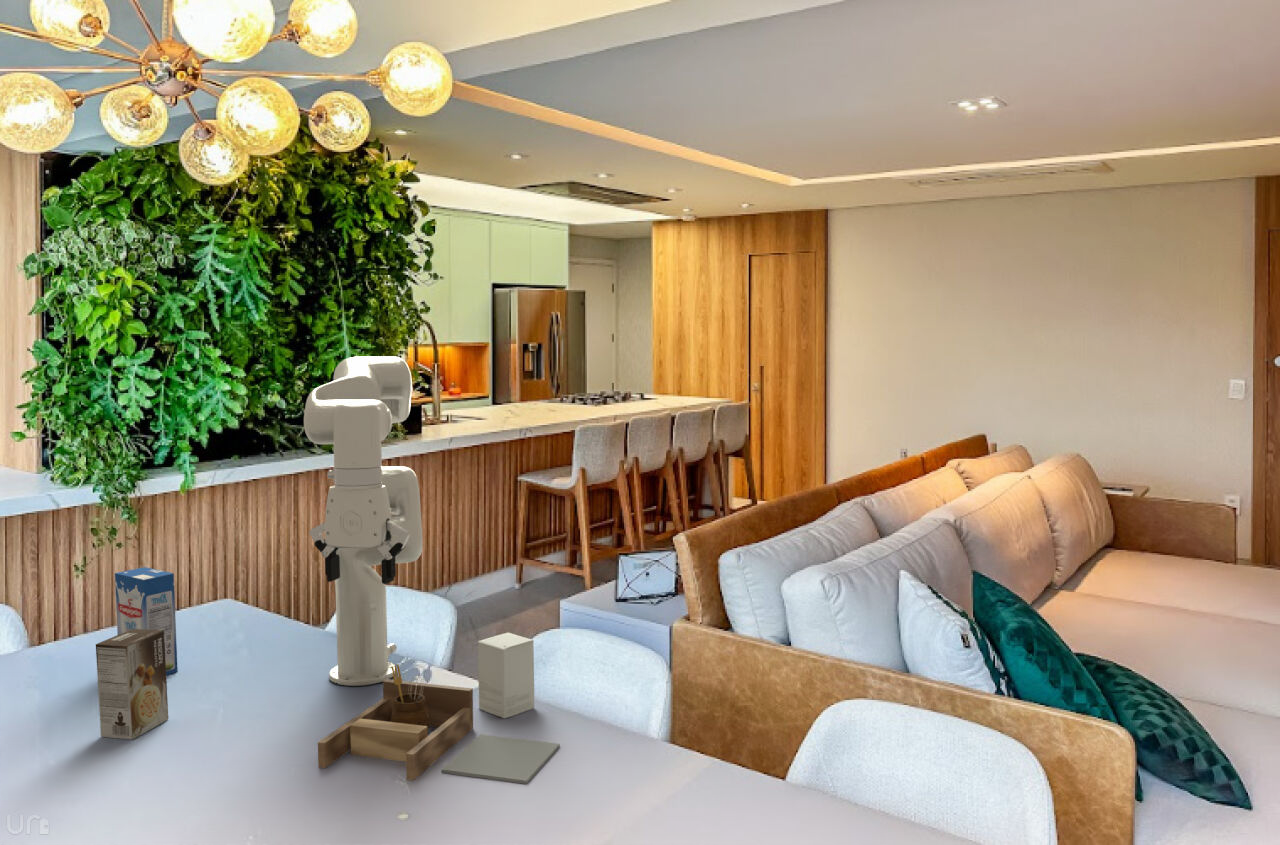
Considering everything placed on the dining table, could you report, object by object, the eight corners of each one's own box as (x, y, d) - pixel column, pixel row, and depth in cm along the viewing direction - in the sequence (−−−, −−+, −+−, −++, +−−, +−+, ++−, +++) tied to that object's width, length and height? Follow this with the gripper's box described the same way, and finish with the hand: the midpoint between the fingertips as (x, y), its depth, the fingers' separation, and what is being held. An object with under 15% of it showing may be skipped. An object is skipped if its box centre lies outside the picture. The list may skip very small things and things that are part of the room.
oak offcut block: (361, 748, 161) (360, 718, 161) (427, 756, 158) (427, 726, 158) (350, 755, 158) (350, 725, 158) (418, 764, 155) (418, 733, 155)
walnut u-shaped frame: (387, 718, 173) (386, 679, 173) (473, 728, 169) (472, 688, 168) (318, 767, 154) (317, 723, 153) (413, 780, 149) (412, 735, 149)
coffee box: (137, 717, 174) (133, 627, 172) (169, 719, 172) (166, 629, 171) (98, 737, 165) (94, 643, 163) (132, 740, 164) (128, 645, 162)
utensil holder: (410, 749, 160) (409, 677, 159) (382, 741, 164) (381, 670, 163) (436, 737, 165) (435, 667, 164) (408, 729, 169) (407, 660, 168)
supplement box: (535, 708, 178) (535, 639, 177) (503, 719, 173) (502, 649, 172) (509, 698, 183) (508, 631, 182) (477, 708, 178) (476, 640, 177)
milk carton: (177, 672, 197) (173, 573, 195) (148, 681, 192) (143, 579, 190) (148, 663, 202) (144, 566, 200) (119, 672, 197) (114, 573, 195)
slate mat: (480, 737, 165) (480, 734, 165) (559, 746, 161) (559, 743, 161) (441, 772, 152) (441, 769, 152) (526, 783, 148) (526, 780, 148)
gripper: (297, 479, 160) (300, 584, 161) (397, 481, 157) (400, 588, 158) (321, 474, 168) (323, 574, 169) (417, 476, 164) (419, 578, 165)
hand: (360, 581), depth 163 cm, fingers open, 9 cm apart
